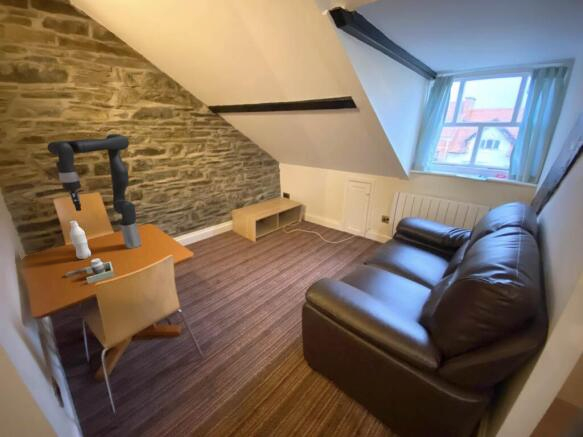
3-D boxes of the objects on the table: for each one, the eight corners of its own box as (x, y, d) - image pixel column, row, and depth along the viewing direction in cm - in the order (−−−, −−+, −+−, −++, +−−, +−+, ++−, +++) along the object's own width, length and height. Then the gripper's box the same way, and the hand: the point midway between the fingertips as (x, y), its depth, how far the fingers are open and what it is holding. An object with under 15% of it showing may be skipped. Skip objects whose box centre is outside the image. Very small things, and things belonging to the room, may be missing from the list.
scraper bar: (94, 266, 146) (93, 262, 145) (95, 271, 142) (93, 266, 140) (66, 274, 138) (65, 269, 137) (66, 279, 134) (64, 274, 133)
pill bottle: (93, 274, 138) (88, 260, 134) (104, 271, 142) (100, 256, 138) (95, 278, 135) (90, 263, 131) (107, 274, 138) (102, 259, 135)
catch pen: (112, 266, 146) (110, 261, 145) (114, 275, 137) (113, 270, 136) (87, 273, 139) (85, 268, 138) (88, 283, 130) (86, 278, 129)
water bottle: (83, 260, 151) (71, 224, 142) (74, 259, 153) (62, 223, 144) (94, 255, 158) (83, 220, 149) (85, 254, 159) (74, 218, 150)
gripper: (79, 181, 127) (87, 210, 133) (78, 177, 137) (86, 204, 143) (60, 183, 122) (69, 213, 128) (61, 178, 132) (70, 206, 138)
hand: (78, 208), depth 136 cm, fingers open, 8 cm apart
